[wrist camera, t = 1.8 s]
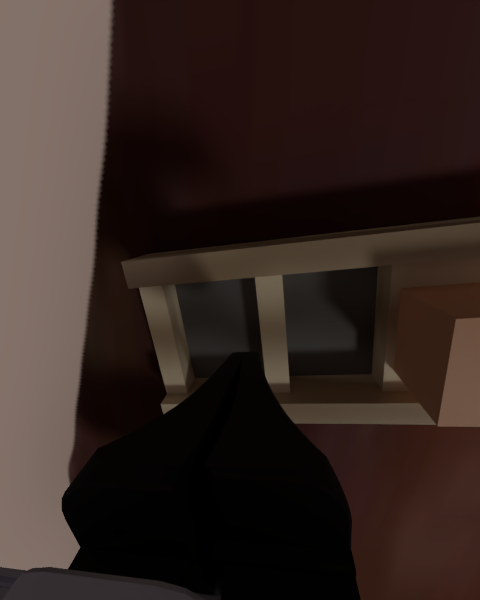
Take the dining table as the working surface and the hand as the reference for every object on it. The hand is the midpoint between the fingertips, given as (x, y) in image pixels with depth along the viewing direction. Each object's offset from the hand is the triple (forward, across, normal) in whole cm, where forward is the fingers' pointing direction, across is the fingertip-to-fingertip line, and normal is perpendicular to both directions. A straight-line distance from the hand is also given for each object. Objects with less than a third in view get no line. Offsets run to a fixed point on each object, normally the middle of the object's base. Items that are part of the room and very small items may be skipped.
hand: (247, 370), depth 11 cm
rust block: (+3, -10, 0) cm, 11 cm away
